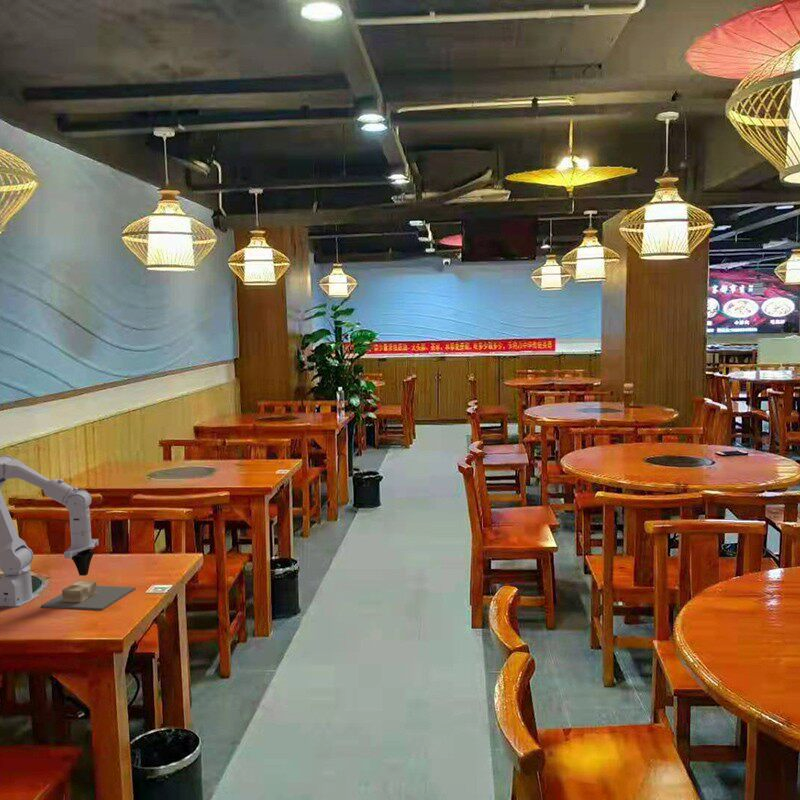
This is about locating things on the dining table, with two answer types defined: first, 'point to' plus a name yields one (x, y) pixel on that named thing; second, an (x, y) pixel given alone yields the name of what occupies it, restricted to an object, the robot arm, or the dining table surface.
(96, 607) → the mat
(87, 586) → the light wood block
